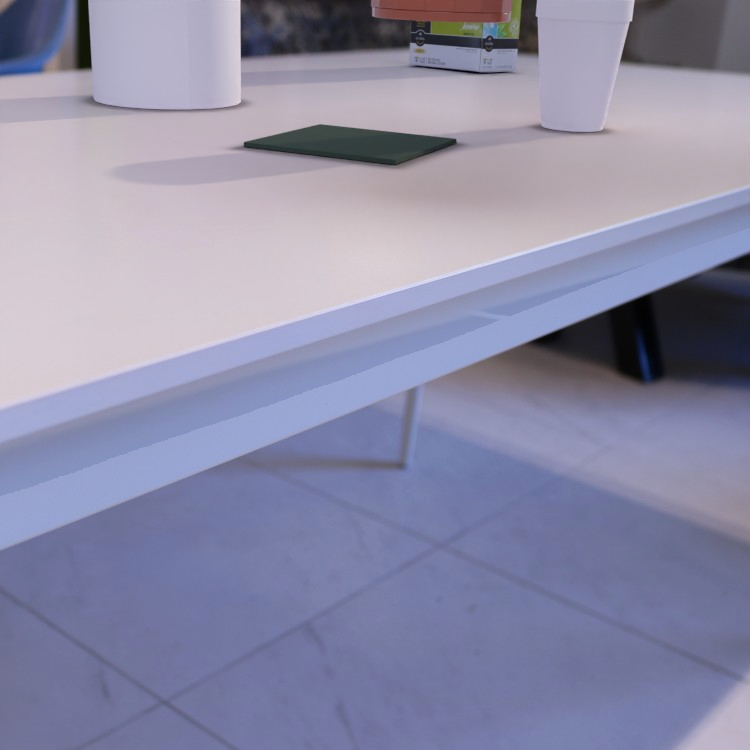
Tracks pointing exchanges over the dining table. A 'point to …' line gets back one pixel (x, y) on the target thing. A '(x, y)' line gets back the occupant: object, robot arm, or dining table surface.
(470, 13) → the faceted clay mug
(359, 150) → the mat
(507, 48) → the tea box
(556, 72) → the foam cup
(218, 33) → the canister
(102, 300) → the dining table surface
